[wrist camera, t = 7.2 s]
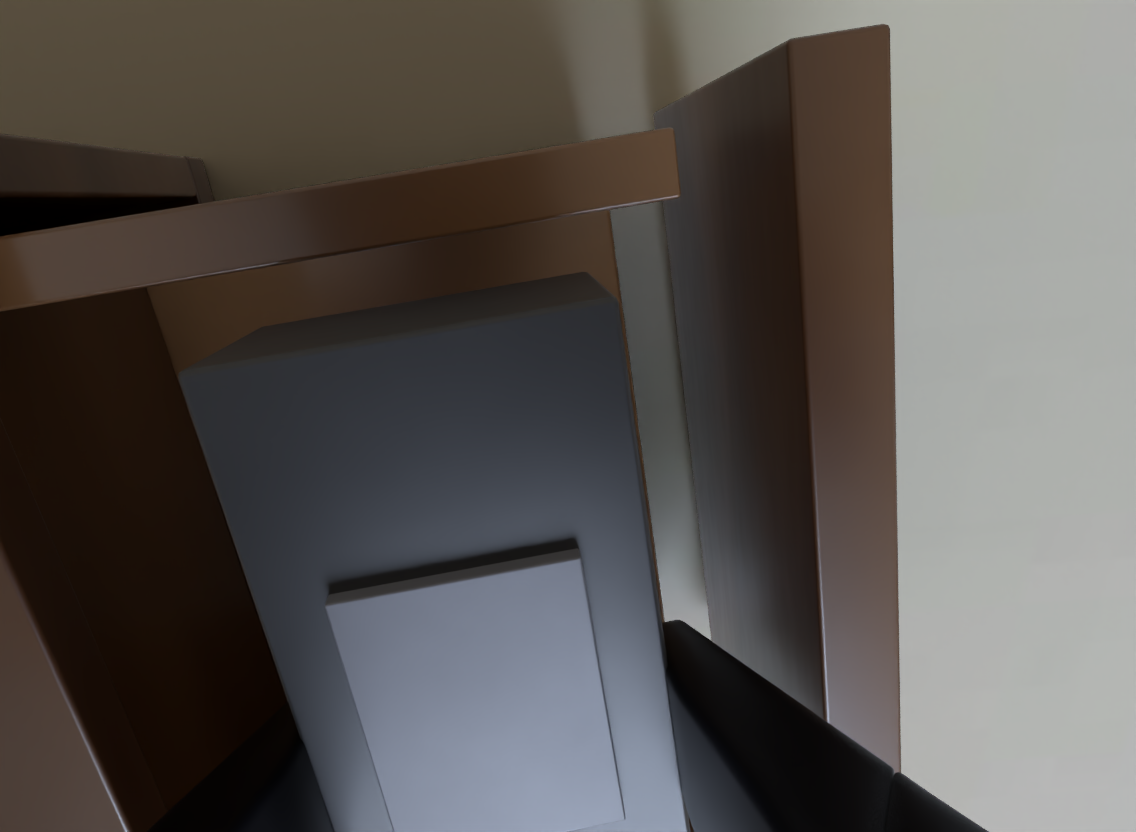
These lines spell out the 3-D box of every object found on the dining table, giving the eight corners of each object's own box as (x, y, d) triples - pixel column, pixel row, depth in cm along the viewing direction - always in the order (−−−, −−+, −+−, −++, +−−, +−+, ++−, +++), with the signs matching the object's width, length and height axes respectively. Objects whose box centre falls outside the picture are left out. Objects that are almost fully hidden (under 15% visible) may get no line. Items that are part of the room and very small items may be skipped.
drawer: (764, 94, 15) (996, 5, 8) (799, 634, 19) (973, 888, 12) (104, 201, 14) (-269, 205, 7) (287, 733, 18) (159, 1058, 11)
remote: (588, 270, 8) (623, 298, 6) (674, 855, 11) (721, 1031, 9) (258, 326, 8) (161, 378, 6) (429, 905, 11) (411, 1097, 8)
